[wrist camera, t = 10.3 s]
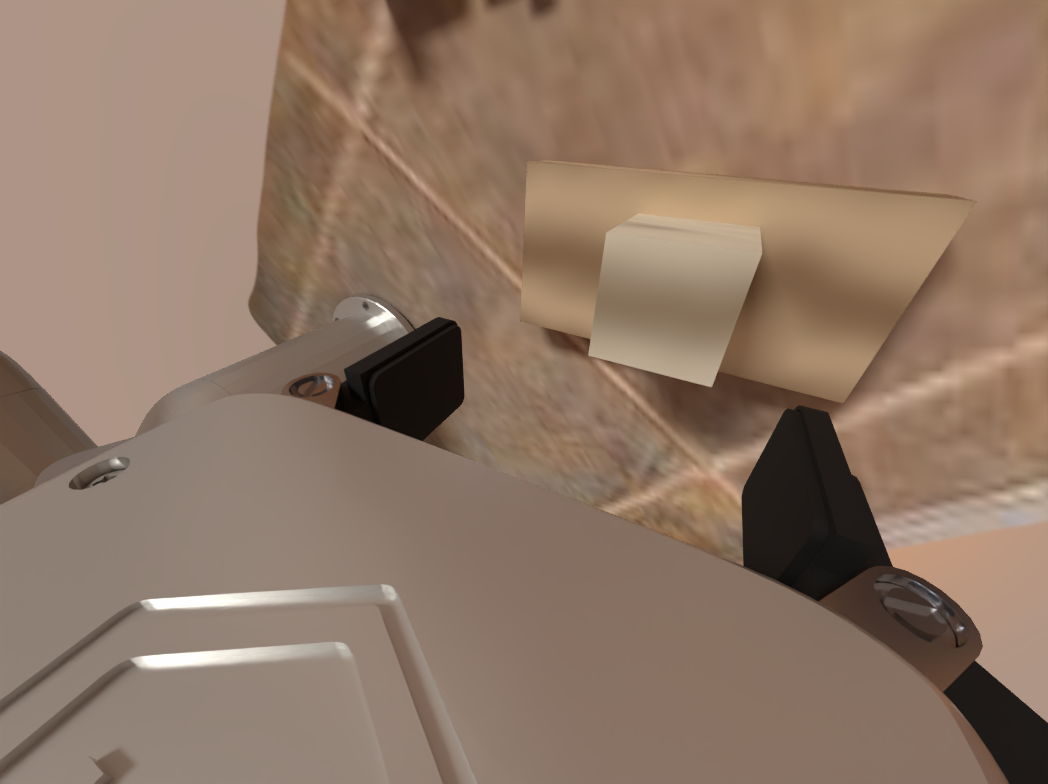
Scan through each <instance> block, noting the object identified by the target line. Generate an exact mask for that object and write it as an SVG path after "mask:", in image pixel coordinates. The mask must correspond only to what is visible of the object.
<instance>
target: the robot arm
mask: <svg viewBox="0 0 1048 784" xmlns="http://www.w3.org/2000/svg"><path fill="white" fill-rule="evenodd" d="M463 400H464V378H463V358H462V338H461V329H460V327H459V326H457V323H456V322H455V321H453V320H449V319H444V318H440V317H437V318H435V319H433V320H431V321H430V322H428V323H426V324H424V325H422V326H421V327H419V328H417V329H415V330H414V329H413V328H412V326H411V325H410V324H409V323H408V321H407V320H406V319H405V318H404V317H403V316H402V315H401V314H400V313H399V312H398V311H397V310H396V309H395V308H393V307H392V306H391V305H389V304H388V303H386V302H384V301H383V300H381V299H379V298H376V297H373V296H370V295H361V294H360V295H356V296H352V297H350V298H347V299H345V300H343V301H342V302H341V303H340V304H338V306H337V308H336V310H335V312H334V315H333V322H332V323H329V324H327V325H325V326H322V327H320V328H318V329H315V330H313V331H310V332H308V333H306V334H303V335H301V336H299V337H296V338H294V339H292V340H289V341H287V342H284V343H282V344H280V345H277V346H275V347H273V348H270V349H268V350H265V351H263V352H261V353H258V354H256V355H254V356H251V357H249V358H247V359H244V360H242V361H239V362H237V363H235V364H232V365H230V366H228V367H226V368H223V369H220V370H218V371H216V372H213V373H211V374H209V375H206V376H204V377H202V378H199V379H197V380H195V381H192V382H190V383H188V384H185V385H183V386H181V387H179V388H177V389H175V390H173V391H171V392H170V393H168V394H167V395H165V396H164V397H162V398H161V399H160V400H159V401H158V402H157V403H156V404H155V405H154V406H153V407H152V408H151V410H150V411H149V412H148V413H147V415H146V417H145V419H144V420H143V422H142V424H141V425H140V427H139V429H138V431H137V434H136V436H135V437H133V438H129V439H126V440H122V441H118V442H115V443H112V444H108V445H104V446H100V447H98V446H97V445H96V444H95V443H94V442H93V441H92V440H91V439H90V438H89V437H88V436H87V435H86V433H85V432H84V431H83V430H82V429H81V428H80V427H79V426H78V425H77V424H76V423H75V422H74V421H73V420H72V419H71V417H70V416H69V415H68V414H67V413H66V412H65V411H64V410H63V409H62V408H61V407H60V406H59V404H58V403H57V402H56V401H55V400H54V399H53V398H52V397H51V396H50V395H49V394H48V393H47V392H46V390H45V389H43V388H42V387H41V386H40V385H39V384H38V383H37V382H36V381H35V380H34V378H33V377H32V376H31V375H30V374H29V373H27V372H26V371H25V370H24V369H23V368H22V367H21V366H20V365H19V364H18V363H17V362H15V361H14V360H13V359H12V358H10V357H9V356H8V355H6V354H5V353H3V352H2V351H0V784H1048V723H1047V722H1046V721H1045V720H1044V719H1042V718H1041V717H1040V716H1039V715H1038V714H1037V713H1035V712H1034V711H1033V710H1032V709H1031V708H1030V707H1028V706H1027V705H1026V704H1025V703H1024V702H1022V701H1021V700H1020V699H1019V698H1018V697H1017V696H1015V695H1014V694H1013V693H1012V692H1011V691H1010V690H1008V689H1007V688H1006V687H1005V686H1004V685H1003V684H1002V683H1000V682H999V681H998V680H997V679H996V678H994V677H993V676H992V675H991V674H990V673H989V672H988V671H986V670H985V669H984V668H983V667H982V666H980V665H979V664H978V663H977V662H976V661H975V659H976V658H977V657H978V656H979V654H980V652H981V649H982V647H983V645H982V641H981V637H980V633H979V631H978V630H977V628H976V626H975V625H974V623H973V621H972V620H971V618H970V617H969V616H968V615H967V614H966V613H965V612H964V611H963V609H962V608H961V607H960V606H959V605H958V604H957V603H956V602H955V601H953V600H952V599H951V598H950V597H949V596H947V595H946V594H945V593H944V592H943V591H942V590H940V589H938V588H937V587H935V586H934V585H932V584H930V583H929V582H927V581H926V580H924V579H923V578H920V577H918V576H916V575H914V574H912V573H910V572H908V571H905V570H902V569H898V568H895V567H893V566H892V564H891V561H890V558H889V556H888V553H887V551H886V548H885V546H884V543H883V540H882V538H881V535H880V533H879V530H878V528H877V525H876V523H875V520H874V517H873V515H872V512H871V510H870V507H869V505H868V502H867V500H866V497H865V494H864V492H863V489H862V487H861V484H860V482H859V480H858V479H857V477H855V476H853V475H851V472H850V469H849V467H848V464H847V461H846V459H845V456H844V453H843V451H842V448H841V445H840V443H839V440H838V437H837V435H836V432H835V429H834V427H833V424H832V421H831V419H830V416H829V414H828V412H824V411H820V410H816V409H812V408H808V407H804V406H800V405H799V406H797V407H796V408H795V410H792V409H786V410H785V411H784V413H783V415H782V417H781V418H780V420H779V422H778V424H777V426H776V428H775V430H774V432H773V433H772V435H771V437H770V439H769V441H768V443H767V445H766V447H765V448H764V450H763V452H762V454H761V456H760V458H759V460H758V461H757V463H756V465H755V467H754V469H753V471H752V473H751V475H750V476H749V478H748V480H747V482H746V484H745V486H744V489H743V493H742V526H743V560H744V566H741V565H739V564H737V563H734V562H732V561H729V560H727V559H725V558H722V557H720V556H718V555H715V554H713V553H710V552H708V551H706V550H703V549H701V548H698V547H695V546H693V545H690V544H688V543H685V542H683V541H680V540H677V539H675V538H672V537H670V536H667V535H665V534H662V533H659V532H657V531H654V530H652V529H649V528H647V527H644V526H641V525H639V524H636V523H634V522H631V521H628V520H626V519H623V518H621V517H618V516H616V515H613V514H610V513H608V512H605V511H603V510H600V509H598V508H595V507H592V506H590V505H587V504H585V503H582V502H579V501H577V500H574V499H572V498H569V497H566V496H564V495H561V494H559V493H556V492H553V491H551V490H548V489H545V488H543V487H540V486H538V485H535V484H532V483H530V482H527V481H525V480H522V479H519V478H517V477H514V476H511V475H509V474H506V473H504V472H501V471H498V470H496V469H493V468H491V467H488V466H485V465H483V464H480V463H477V462H475V461H472V460H470V459H467V458H464V457H462V456H459V455H457V454H454V453H451V452H449V451H446V450H444V449H441V448H438V447H436V446H433V445H431V444H428V443H425V442H423V440H424V439H425V438H426V437H427V436H428V435H429V434H430V433H431V432H432V431H433V430H435V429H436V428H437V427H438V426H439V425H440V424H441V423H442V422H443V421H444V420H445V419H446V418H447V417H449V416H450V415H451V414H452V413H453V412H454V411H455V410H456V409H457V408H458V407H459V406H460V405H461V404H462V402H463Z"/></svg>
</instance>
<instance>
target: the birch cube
mask: <svg viewBox="0 0 1048 784" xmlns="http://www.w3.org/2000/svg"><path fill="white" fill-rule="evenodd" d="M761 256H762V243H761V230H760V227H755V226H746V225H737V224H728V223H719V222H710V221H701V220H692V219H682V218H673V217H664V216H655V215H646V214H637V215H635V216H633V217H632V218H630V219H628V220H627V221H625V222H623V223H622V224H620V225H618V226H617V227H615V228H613V229H612V230H610V231H608V232H607V233H606V238H605V244H604V251H603V258H602V265H601V272H600V279H599V285H598V292H597V299H596V306H595V313H594V320H593V327H592V333H591V340H590V347H589V354H588V356H592V357H596V358H600V359H603V360H607V361H611V362H615V363H619V364H623V365H627V366H631V367H634V368H638V369H642V370H646V371H650V372H654V373H658V374H662V375H665V376H669V377H673V378H677V379H681V380H685V381H689V382H693V383H696V384H700V385H704V386H708V387H712V385H713V383H714V380H715V377H716V375H717V372H718V369H719V367H720V364H721V362H722V359H723V356H724V354H725V351H726V348H727V346H728V343H729V340H730V338H731V335H732V332H733V330H734V327H735V324H736V322H737V319H738V316H739V314H740V311H741V309H742V306H743V303H744V301H745V298H746V295H747V293H748V290H749V287H750V285H751V282H752V279H753V277H754V274H755V271H756V269H757V266H758V263H759V261H760V258H761Z"/></svg>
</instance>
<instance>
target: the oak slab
mask: <svg viewBox="0 0 1048 784" xmlns="http://www.w3.org/2000/svg"><path fill="white" fill-rule="evenodd" d="M975 203H976V201H972V200H968V199H964V198H960V197H956V196H952V195H948V194H939V193H927V192H915V191H903V190H891V189H880V188H868V187H856V186H844V185H832V184H821V183H809V182H797V181H785V180H773V179H762V178H750V177H738V176H726V175H714V174H703V173H691V172H679V171H667V170H655V169H644V168H632V167H620V166H608V165H596V164H585V163H573V162H561V161H549V160H547V161H533V162H527V180H526V202H525V225H524V247H523V270H522V292H521V314H520V321H521V322H525V323H529V324H533V325H537V326H541V327H545V328H549V329H553V330H557V331H560V332H564V333H568V334H572V335H576V336H580V337H584V338H588V339H591V333H592V327H593V320H594V313H595V306H596V299H597V292H598V285H599V279H600V272H601V265H602V258H603V251H604V244H605V238H606V233H607V232H608V231H610V230H612V229H613V228H615V227H617V226H618V225H620V224H622V223H623V222H625V221H627V220H628V219H630V218H632V217H633V216H635V215H637V214H646V215H655V216H664V217H673V218H682V219H692V220H701V221H710V222H719V223H728V224H737V225H746V226H755V227H760V230H761V243H762V256H761V258H760V261H759V263H758V266H757V269H756V271H755V274H754V277H753V279H752V282H751V285H750V287H749V290H748V293H747V295H746V298H745V301H744V303H743V306H742V309H741V311H740V314H739V316H738V319H737V322H736V324H735V327H734V330H733V332H732V335H731V338H730V340H729V343H728V346H727V348H726V351H725V354H724V356H723V359H722V362H721V364H720V367H719V369H718V372H722V373H725V374H729V375H733V376H737V377H741V378H745V379H749V380H753V381H757V382H761V383H765V384H769V385H773V386H777V387H780V388H784V389H788V390H792V391H796V392H800V393H804V394H808V395H812V396H816V397H820V398H824V399H828V400H832V401H835V402H839V403H844V402H845V400H846V399H847V397H848V396H849V394H850V393H851V391H852V390H853V388H854V387H855V385H856V384H857V382H858V381H859V379H860V378H861V376H862V375H863V373H864V372H865V370H866V369H867V367H868V365H869V364H870V362H871V361H872V359H873V358H874V356H875V355H876V353H877V352H878V350H879V349H880V347H881V346H882V344H883V343H884V341H885V340H886V338H887V337H888V335H889V334H890V332H891V331H892V329H893V328H894V326H895V325H896V323H897V322H898V320H899V319H900V317H901V316H902V314H903V313H904V311H905V309H906V308H907V306H908V305H909V303H910V302H911V300H912V299H913V297H914V296H915V294H916V293H917V291H918V290H919V288H920V287H921V285H922V284H923V282H924V281H925V279H926V278H927V276H928V275H929V273H930V272H931V270H932V269H933V267H934V266H935V264H936V263H937V261H938V260H939V258H940V256H941V255H942V253H943V252H944V250H945V249H946V247H947V246H948V244H949V243H950V241H951V240H952V238H953V237H954V235H955V234H956V232H957V231H958V229H959V228H960V226H961V225H962V223H963V222H964V220H965V219H966V217H967V216H968V214H969V213H970V211H971V210H972V208H973V207H974V205H975Z"/></svg>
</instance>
